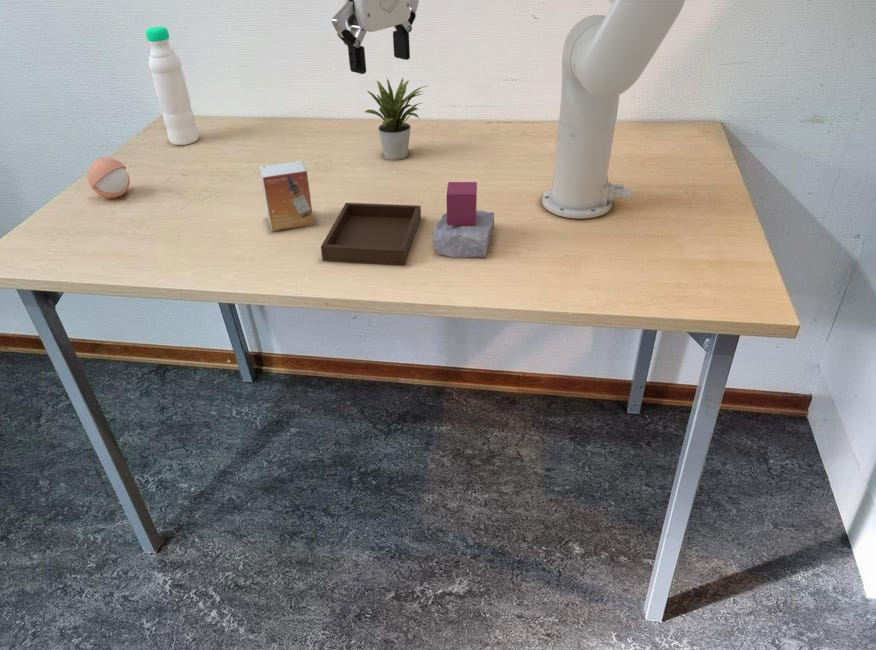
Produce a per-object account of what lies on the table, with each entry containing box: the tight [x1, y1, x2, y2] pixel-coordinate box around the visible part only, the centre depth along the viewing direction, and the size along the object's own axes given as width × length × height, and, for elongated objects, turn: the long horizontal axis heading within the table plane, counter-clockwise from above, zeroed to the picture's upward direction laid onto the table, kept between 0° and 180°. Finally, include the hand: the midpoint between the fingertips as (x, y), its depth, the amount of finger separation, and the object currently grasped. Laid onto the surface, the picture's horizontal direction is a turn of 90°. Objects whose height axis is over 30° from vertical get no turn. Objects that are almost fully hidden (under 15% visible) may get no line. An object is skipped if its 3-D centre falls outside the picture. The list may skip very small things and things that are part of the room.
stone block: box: [432, 209, 495, 259], centre depth 114 cm, size 12×5×10 cm
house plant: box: [364, 77, 429, 161], centre depth 140 cm, size 14×14×16 cm
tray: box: [320, 202, 422, 267], centre depth 116 cm, size 14×17×3 cm
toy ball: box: [87, 157, 131, 199], centre depth 134 cm, size 8×8×8 cm
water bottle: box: [145, 26, 200, 146], centre depth 152 cm, size 7×7×25 cm
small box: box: [258, 159, 315, 232], centre depth 120 cm, size 8×6×10 cm
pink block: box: [446, 181, 478, 225], centre depth 111 cm, size 5×5×6 cm
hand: (380, 65), depth 108 cm, fingers open, 9 cm apart
